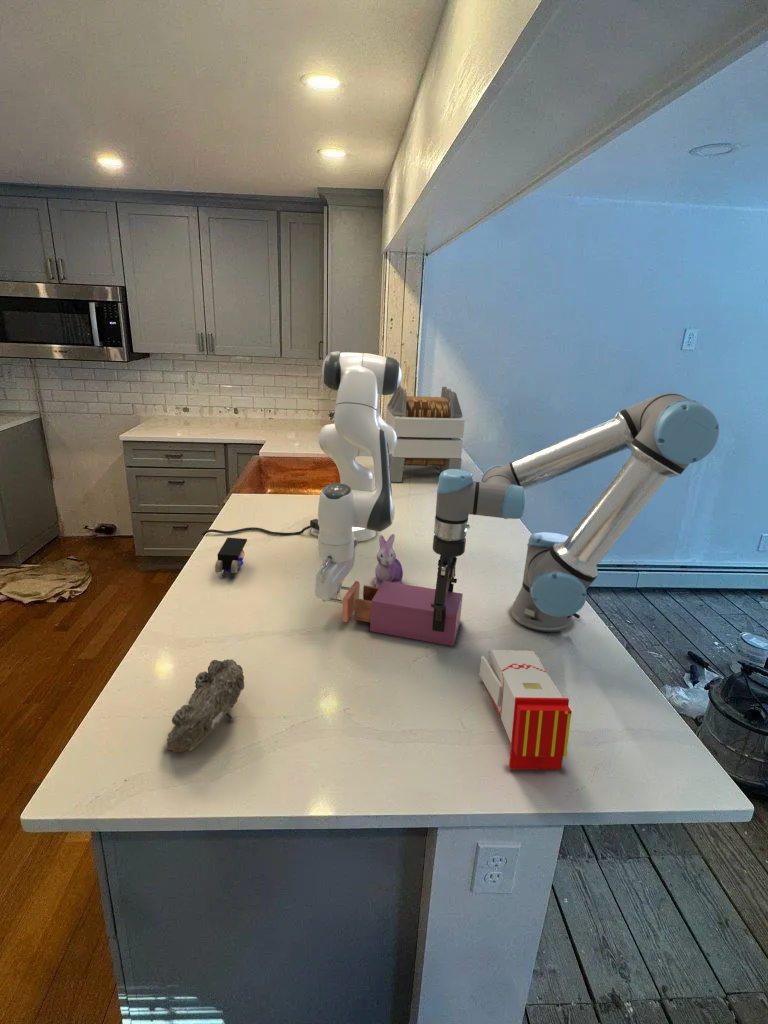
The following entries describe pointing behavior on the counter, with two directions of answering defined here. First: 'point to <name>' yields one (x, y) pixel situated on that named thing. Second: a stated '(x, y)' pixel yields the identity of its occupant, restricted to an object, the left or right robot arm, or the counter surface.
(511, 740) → the toy
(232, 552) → the figurine character
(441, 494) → the right robot arm
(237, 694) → the fossil
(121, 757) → the counter surface
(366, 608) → the drawer
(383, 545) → the figurine
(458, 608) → the cabinet
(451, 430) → the transformer
